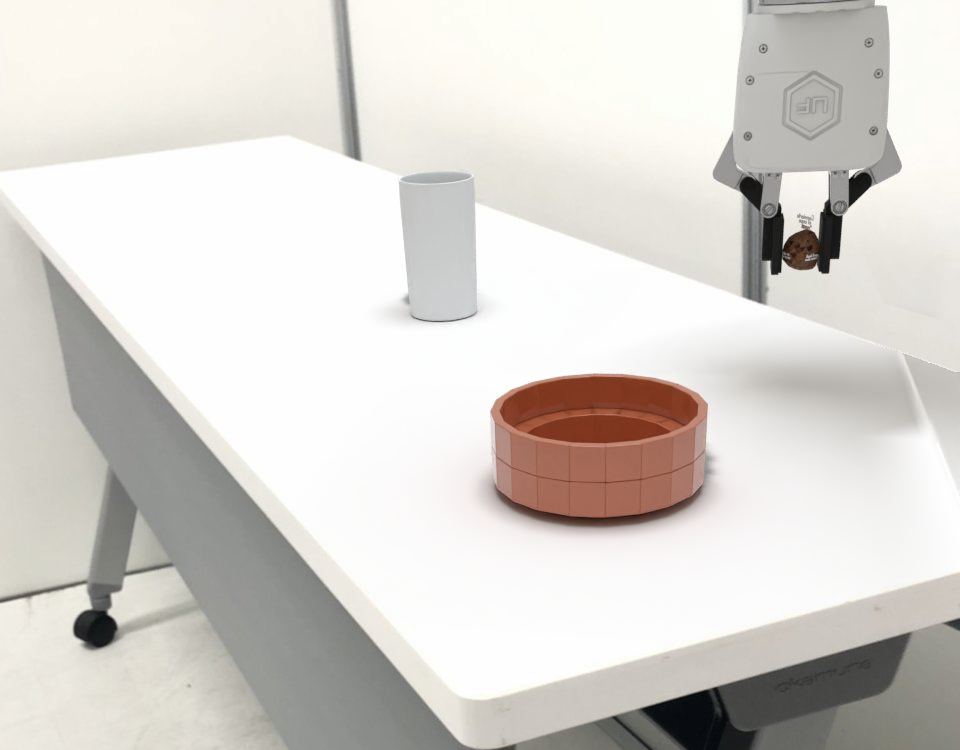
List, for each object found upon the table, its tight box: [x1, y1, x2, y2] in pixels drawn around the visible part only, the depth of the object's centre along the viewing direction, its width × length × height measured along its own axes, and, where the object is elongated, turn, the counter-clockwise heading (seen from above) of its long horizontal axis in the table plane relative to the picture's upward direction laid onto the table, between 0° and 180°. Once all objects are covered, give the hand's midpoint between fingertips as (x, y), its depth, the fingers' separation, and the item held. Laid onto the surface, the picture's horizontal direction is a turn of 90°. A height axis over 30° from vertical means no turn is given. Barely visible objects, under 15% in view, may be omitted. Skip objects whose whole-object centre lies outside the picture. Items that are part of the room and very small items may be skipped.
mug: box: [398, 170, 478, 322], centre depth 112 cm, size 10×7×12 cm, turn 164°
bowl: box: [489, 372, 709, 519], centre depth 76 cm, size 13×13×5 cm
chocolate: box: [782, 212, 820, 271], centre depth 88 cm, size 3×2×4 cm
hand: (799, 268), depth 89 cm, fingers closed on chocolate, 2 cm apart
